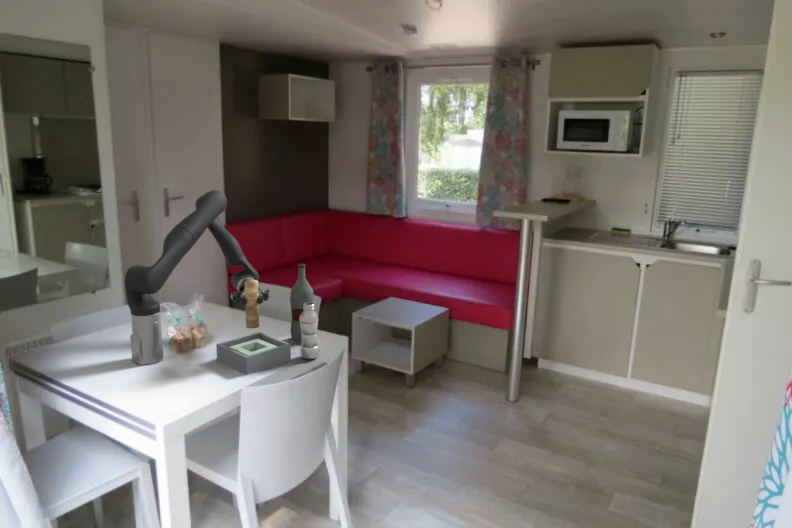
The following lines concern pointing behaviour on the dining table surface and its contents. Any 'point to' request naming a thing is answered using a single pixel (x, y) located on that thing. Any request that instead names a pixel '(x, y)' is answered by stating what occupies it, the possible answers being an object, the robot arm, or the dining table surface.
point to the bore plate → (252, 347)
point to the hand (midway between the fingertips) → (252, 301)
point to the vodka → (299, 302)
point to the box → (256, 360)
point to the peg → (252, 304)
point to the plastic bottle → (309, 332)
